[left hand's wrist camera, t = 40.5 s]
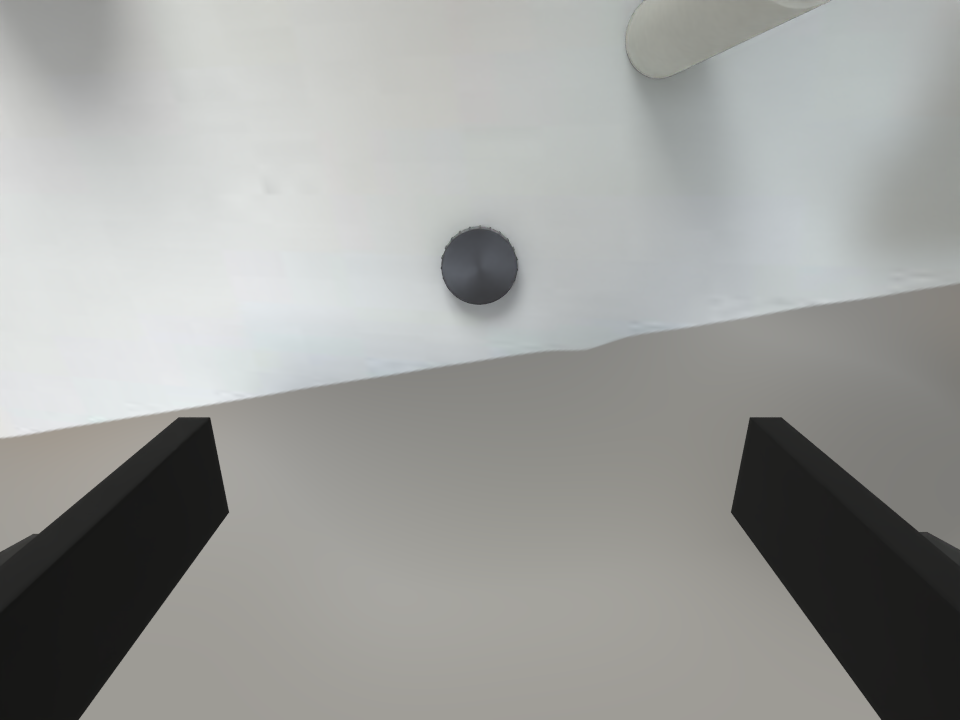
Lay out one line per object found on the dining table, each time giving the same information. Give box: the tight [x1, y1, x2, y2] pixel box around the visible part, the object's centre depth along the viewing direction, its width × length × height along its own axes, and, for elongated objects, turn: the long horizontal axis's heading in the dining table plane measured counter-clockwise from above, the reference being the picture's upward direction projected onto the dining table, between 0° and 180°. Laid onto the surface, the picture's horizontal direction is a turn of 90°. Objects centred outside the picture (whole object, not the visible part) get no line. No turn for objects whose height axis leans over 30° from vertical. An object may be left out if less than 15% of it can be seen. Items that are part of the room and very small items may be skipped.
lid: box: [441, 226, 518, 305], centre depth 40 cm, size 6×6×2 cm
